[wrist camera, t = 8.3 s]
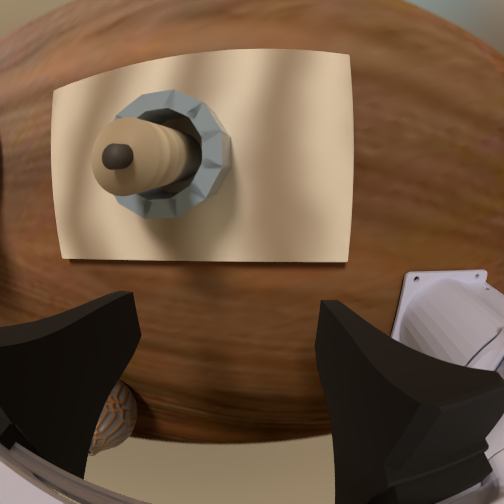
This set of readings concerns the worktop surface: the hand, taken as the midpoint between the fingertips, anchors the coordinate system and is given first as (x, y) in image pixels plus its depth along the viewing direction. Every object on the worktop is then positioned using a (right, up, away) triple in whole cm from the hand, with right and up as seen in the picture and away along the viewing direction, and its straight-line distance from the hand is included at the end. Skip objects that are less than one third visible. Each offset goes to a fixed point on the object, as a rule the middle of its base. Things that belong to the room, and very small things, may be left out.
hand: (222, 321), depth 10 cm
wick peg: (-4, +9, +6) cm, 11 cm away
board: (-4, +9, +7) cm, 12 cm away
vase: (-13, -12, +14) cm, 23 cm away
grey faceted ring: (-4, +9, +6) cm, 11 cm away
